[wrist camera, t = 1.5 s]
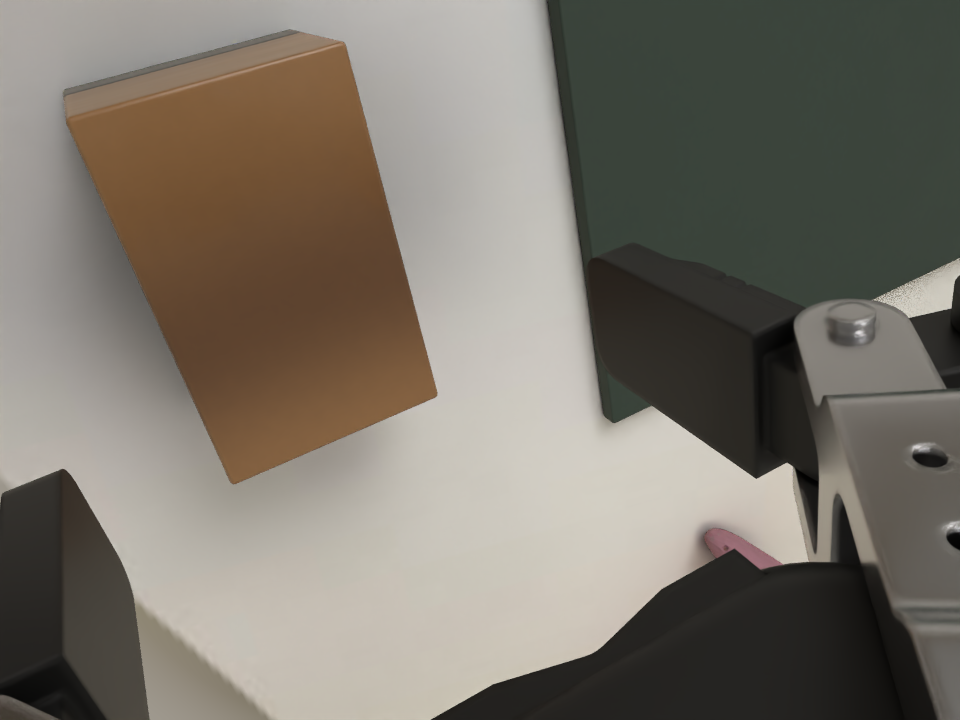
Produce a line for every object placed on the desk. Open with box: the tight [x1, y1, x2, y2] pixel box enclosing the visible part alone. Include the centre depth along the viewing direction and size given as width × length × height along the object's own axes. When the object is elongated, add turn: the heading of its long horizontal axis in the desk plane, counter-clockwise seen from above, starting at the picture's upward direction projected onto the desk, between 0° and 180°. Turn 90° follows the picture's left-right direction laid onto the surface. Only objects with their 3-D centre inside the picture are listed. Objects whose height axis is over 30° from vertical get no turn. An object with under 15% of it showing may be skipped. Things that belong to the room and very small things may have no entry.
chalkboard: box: [548, 0, 960, 423], centre depth 26 cm, size 16×24×1 cm, turn 103°
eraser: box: [63, 30, 437, 484], centre depth 17 cm, size 8×5×4 cm, turn 13°
